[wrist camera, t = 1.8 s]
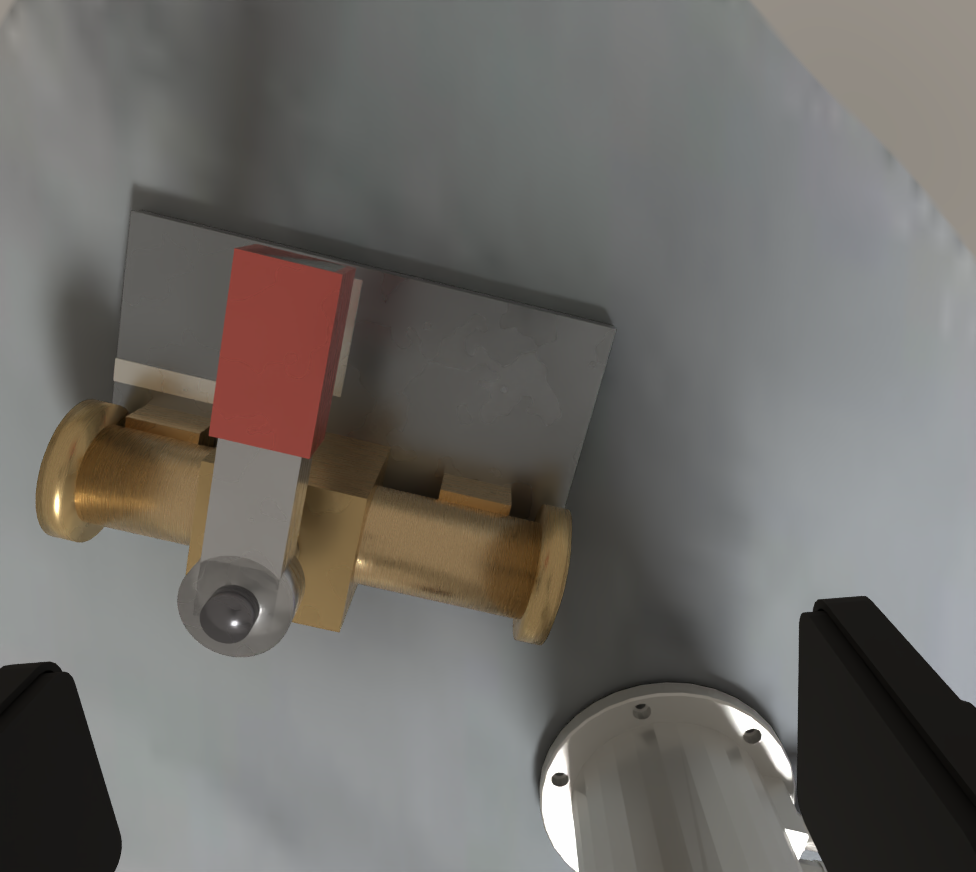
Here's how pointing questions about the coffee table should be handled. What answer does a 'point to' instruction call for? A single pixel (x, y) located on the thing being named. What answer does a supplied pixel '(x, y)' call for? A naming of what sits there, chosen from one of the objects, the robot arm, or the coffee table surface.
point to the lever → (265, 445)
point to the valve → (350, 433)
